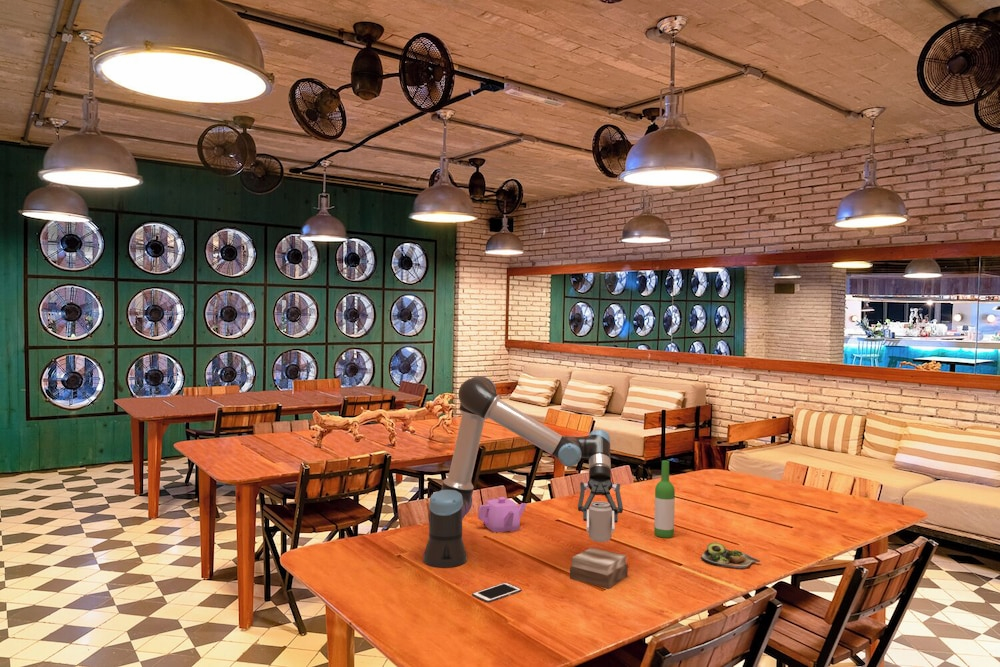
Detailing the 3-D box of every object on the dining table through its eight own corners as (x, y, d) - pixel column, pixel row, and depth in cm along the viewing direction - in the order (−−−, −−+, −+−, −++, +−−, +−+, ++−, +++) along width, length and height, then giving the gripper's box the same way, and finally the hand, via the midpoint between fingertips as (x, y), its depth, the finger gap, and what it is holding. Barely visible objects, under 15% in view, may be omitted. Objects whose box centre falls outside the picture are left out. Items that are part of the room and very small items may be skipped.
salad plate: (763, 559, 246) (763, 546, 246) (755, 574, 231) (755, 560, 231) (709, 550, 256) (709, 537, 256) (697, 563, 240) (698, 550, 240)
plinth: (607, 588, 214) (608, 566, 214) (569, 578, 223) (570, 557, 223) (627, 576, 226) (628, 555, 226) (590, 567, 234) (591, 546, 234)
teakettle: (491, 519, 290) (491, 491, 290) (528, 525, 284) (528, 495, 284) (473, 530, 275) (474, 500, 275) (512, 536, 268) (513, 505, 268)
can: (596, 534, 230) (596, 499, 229) (615, 539, 225) (616, 502, 225) (584, 539, 224) (584, 503, 224) (603, 544, 219) (604, 507, 219)
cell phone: (470, 596, 207) (470, 593, 207) (505, 584, 217) (505, 581, 217) (487, 604, 202) (487, 601, 202) (522, 592, 212) (523, 589, 212)
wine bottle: (672, 533, 275) (673, 459, 275) (675, 539, 268) (676, 463, 268) (652, 532, 276) (654, 458, 276) (655, 538, 268) (656, 462, 268)
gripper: (628, 477, 238) (631, 537, 222) (570, 475, 241) (569, 534, 225) (630, 465, 233) (633, 525, 217) (570, 463, 235) (569, 522, 219)
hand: (600, 530), depth 221 cm, fingers closed on can, 7 cm apart
